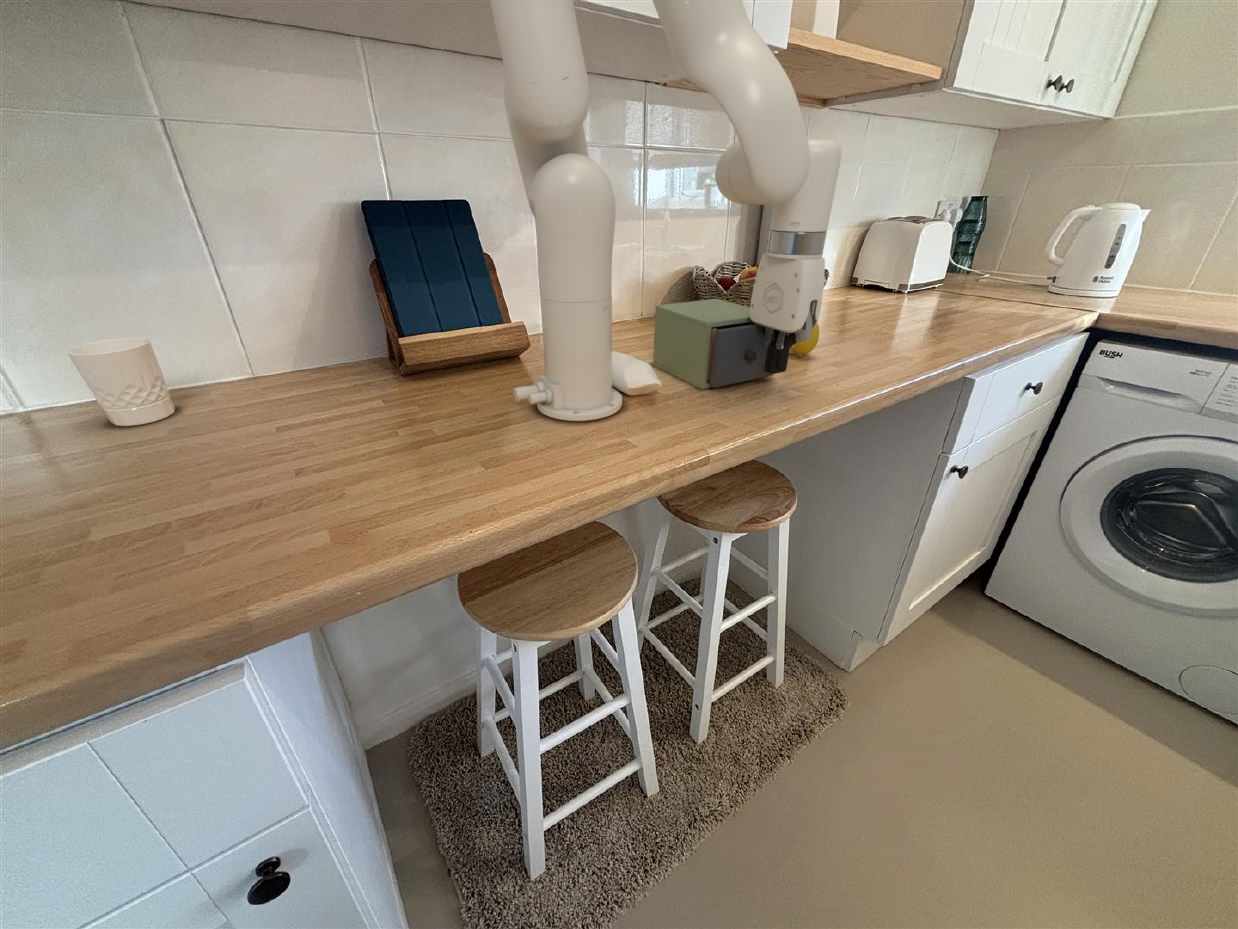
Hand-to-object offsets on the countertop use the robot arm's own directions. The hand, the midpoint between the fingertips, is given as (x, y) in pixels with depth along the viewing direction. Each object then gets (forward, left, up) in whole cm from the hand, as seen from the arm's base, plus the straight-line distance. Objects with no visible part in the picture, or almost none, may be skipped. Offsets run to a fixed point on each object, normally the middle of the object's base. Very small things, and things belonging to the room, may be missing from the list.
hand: (774, 371), depth 78 cm
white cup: (-85, +34, -3) cm, 92 cm away
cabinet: (-3, +13, -3) cm, 14 cm away
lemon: (+18, +11, -3) cm, 21 cm away
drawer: (-3, +9, -2) cm, 10 cm away
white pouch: (-21, +9, -3) cm, 23 cm away
